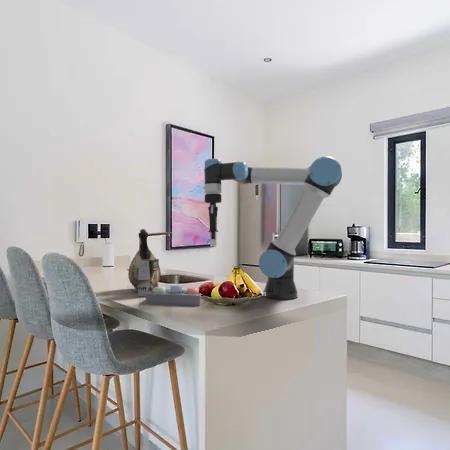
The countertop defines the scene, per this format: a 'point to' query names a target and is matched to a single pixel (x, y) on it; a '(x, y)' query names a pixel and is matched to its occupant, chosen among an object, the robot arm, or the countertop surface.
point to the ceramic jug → (140, 255)
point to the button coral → (192, 290)
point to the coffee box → (147, 276)
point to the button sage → (159, 289)
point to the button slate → (176, 289)
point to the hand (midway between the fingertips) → (213, 246)
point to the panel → (173, 298)
